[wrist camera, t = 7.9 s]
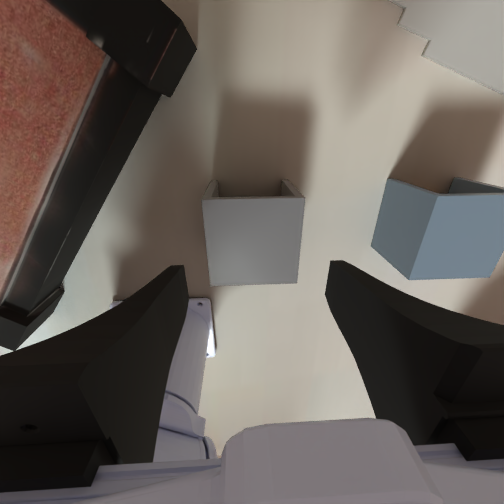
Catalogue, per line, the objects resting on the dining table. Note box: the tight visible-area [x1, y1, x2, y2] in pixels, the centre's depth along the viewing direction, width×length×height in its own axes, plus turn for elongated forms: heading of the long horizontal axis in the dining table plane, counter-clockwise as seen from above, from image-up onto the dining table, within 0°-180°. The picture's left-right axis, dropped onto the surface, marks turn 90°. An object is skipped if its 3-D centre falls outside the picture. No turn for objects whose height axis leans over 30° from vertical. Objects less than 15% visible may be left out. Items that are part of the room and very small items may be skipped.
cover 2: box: [371, 178, 504, 280], centre depth 18 cm, size 6×6×6 cm
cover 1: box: [201, 180, 305, 286], centre depth 18 cm, size 6×6×6 cm
